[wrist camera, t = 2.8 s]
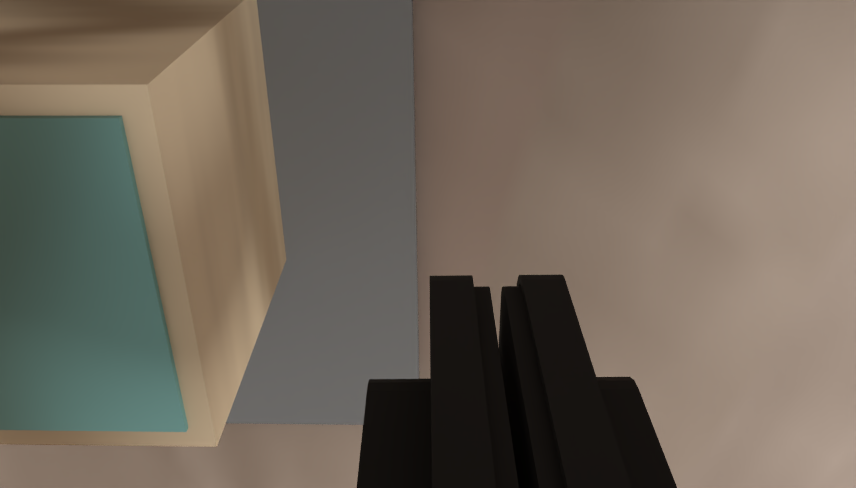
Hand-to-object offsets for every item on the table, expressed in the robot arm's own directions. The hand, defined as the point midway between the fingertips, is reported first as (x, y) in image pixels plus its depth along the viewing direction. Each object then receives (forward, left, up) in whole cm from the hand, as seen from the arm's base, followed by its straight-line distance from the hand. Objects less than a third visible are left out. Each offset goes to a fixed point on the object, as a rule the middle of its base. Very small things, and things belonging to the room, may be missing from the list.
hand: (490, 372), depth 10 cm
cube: (+7, 0, -7) cm, 10 cm away
